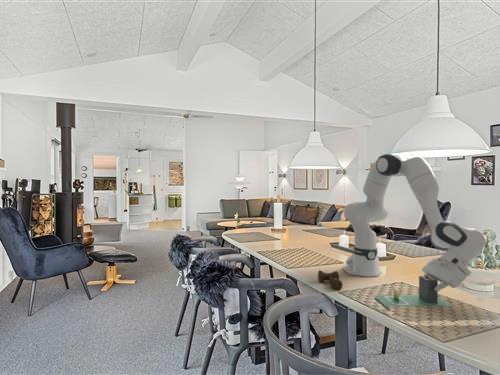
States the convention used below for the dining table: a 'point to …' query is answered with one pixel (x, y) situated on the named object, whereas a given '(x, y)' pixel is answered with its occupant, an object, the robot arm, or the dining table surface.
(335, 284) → the kendama
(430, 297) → the block
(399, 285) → the dining table surface
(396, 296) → the header pins
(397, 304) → the board
